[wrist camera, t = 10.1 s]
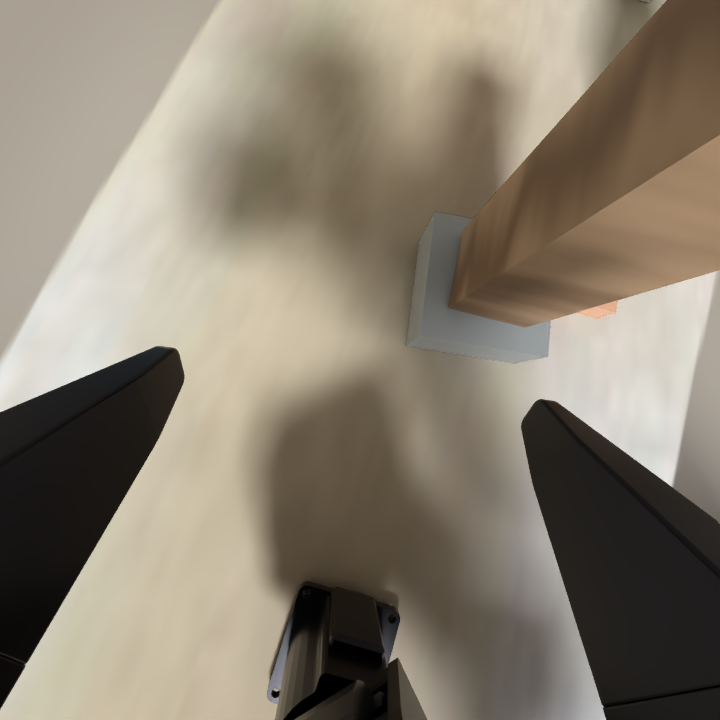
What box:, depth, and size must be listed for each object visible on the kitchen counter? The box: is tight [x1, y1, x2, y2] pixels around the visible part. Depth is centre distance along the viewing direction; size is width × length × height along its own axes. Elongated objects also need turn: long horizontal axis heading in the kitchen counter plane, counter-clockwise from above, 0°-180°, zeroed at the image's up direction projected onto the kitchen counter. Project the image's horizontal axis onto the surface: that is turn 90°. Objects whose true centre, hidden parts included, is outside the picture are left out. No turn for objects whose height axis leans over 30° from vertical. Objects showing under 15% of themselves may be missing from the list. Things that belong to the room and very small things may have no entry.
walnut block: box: [448, 0, 720, 328], centre depth 13 cm, size 5×5×13 cm
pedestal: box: [406, 212, 550, 363], centre depth 21 cm, size 8×8×4 cm
